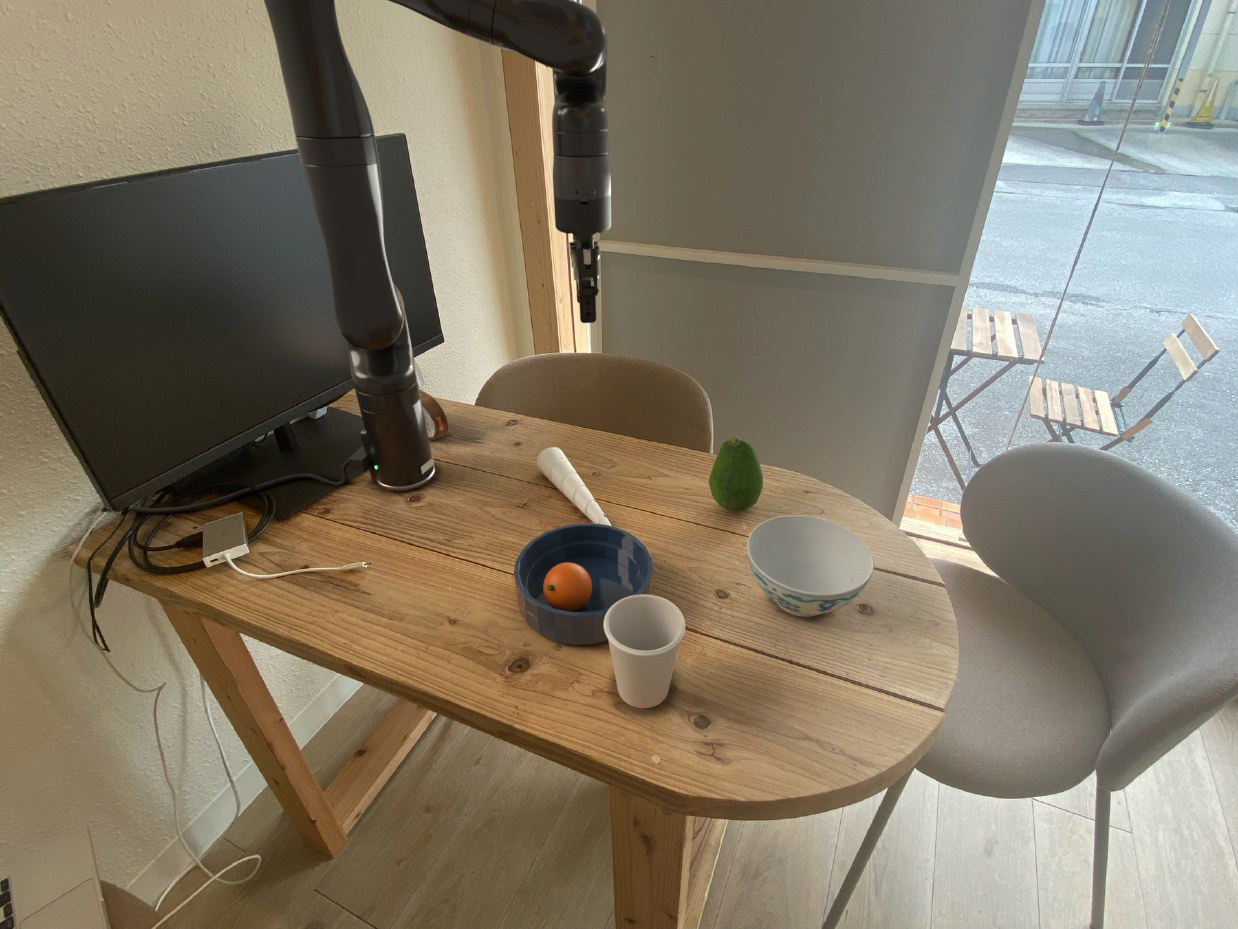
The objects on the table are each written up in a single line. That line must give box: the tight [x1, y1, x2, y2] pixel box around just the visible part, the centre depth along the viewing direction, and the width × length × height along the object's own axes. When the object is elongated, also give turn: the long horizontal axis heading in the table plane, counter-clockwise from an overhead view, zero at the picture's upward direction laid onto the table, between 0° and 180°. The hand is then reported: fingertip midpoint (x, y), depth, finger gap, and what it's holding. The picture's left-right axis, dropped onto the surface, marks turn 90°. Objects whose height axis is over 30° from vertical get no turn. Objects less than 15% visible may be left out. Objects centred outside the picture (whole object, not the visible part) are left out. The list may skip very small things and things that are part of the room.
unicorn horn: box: [536, 446, 612, 526], centre depth 98 cm, size 5×24×5 cm, turn 27°
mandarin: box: [543, 563, 592, 612], centre depth 78 cm, size 6×6×6 cm
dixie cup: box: [604, 594, 686, 709], centre depth 68 cm, size 8×8×10 cm
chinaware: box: [746, 514, 875, 618], centre depth 80 cm, size 15×15×8 cm
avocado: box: [708, 436, 764, 512], centre depth 96 cm, size 8×8×12 cm
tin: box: [419, 388, 450, 441], centre depth 118 cm, size 15×3×8 cm, turn 47°
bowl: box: [513, 522, 654, 645], centre depth 81 cm, size 17×17×6 cm
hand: (586, 311), depth 92 cm, fingers open, 8 cm apart
